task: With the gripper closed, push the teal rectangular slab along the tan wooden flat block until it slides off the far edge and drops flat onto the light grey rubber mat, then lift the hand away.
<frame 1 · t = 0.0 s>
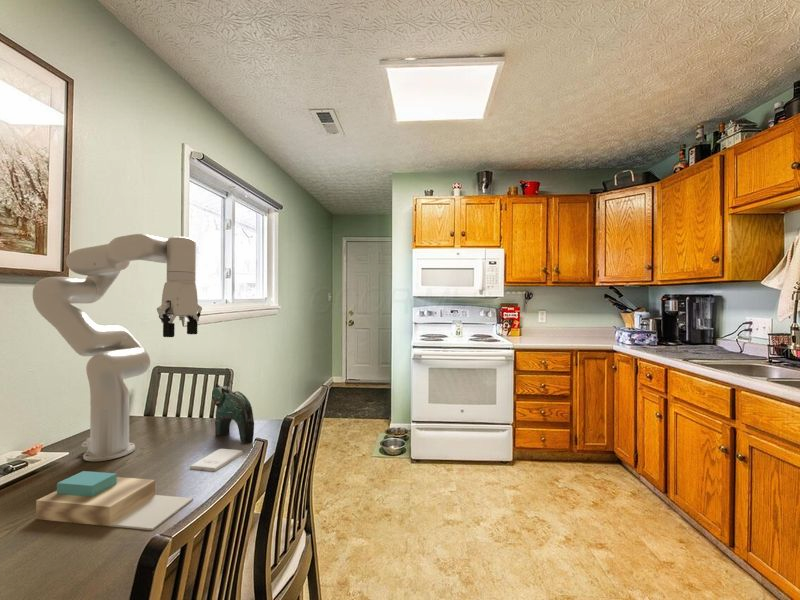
hand: (180, 335, 112), 37 cm above the table, tool pointing down, fingers open, 9 cm apart
mat: (154, 512, 83), on the table
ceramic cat: (234, 438, 129), on the table
tan wooden flat block: (98, 507, 85), on the table
external hard drive: (217, 463, 110), on the table
teal rectangular slab: (87, 488, 86), point 4 cm above the table, touching tan wooden flat block
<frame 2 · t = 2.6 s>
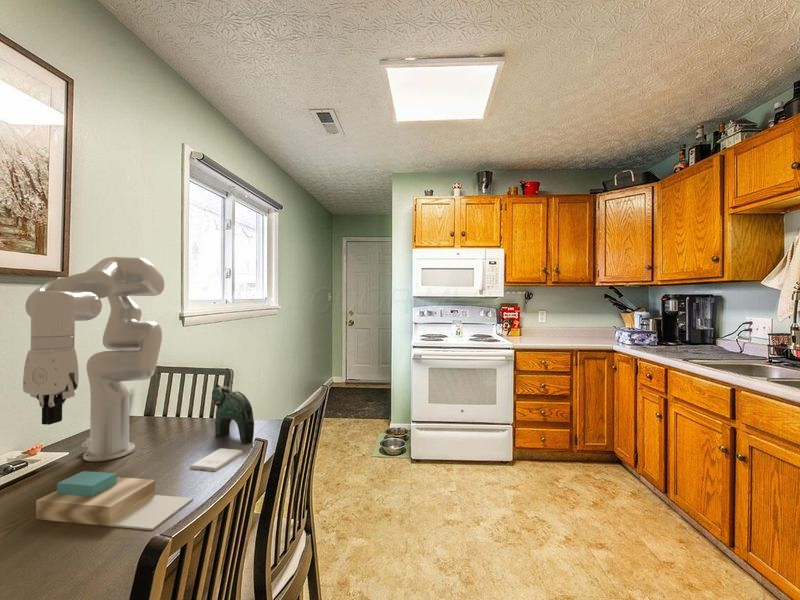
hand: (52, 422, 87), 19 cm above the table, tool pointing down, fingers closed
nothing on the table moved.
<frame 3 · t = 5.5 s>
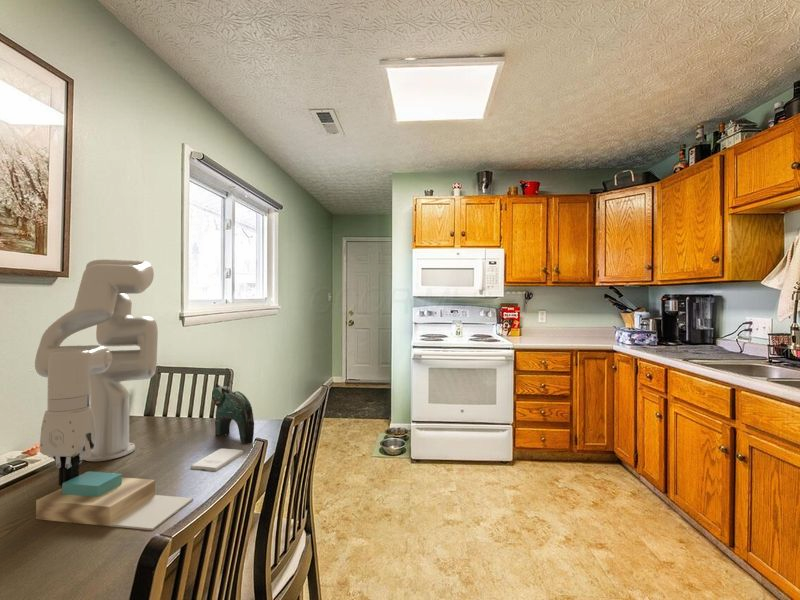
hand: (68, 483, 86), 5 cm above the table, tool pointing down, fingers closed
teal rectangular slab: (92, 488, 85), point 4 cm above the table, touching tan wooden flat block, gripper
everything else where it was.
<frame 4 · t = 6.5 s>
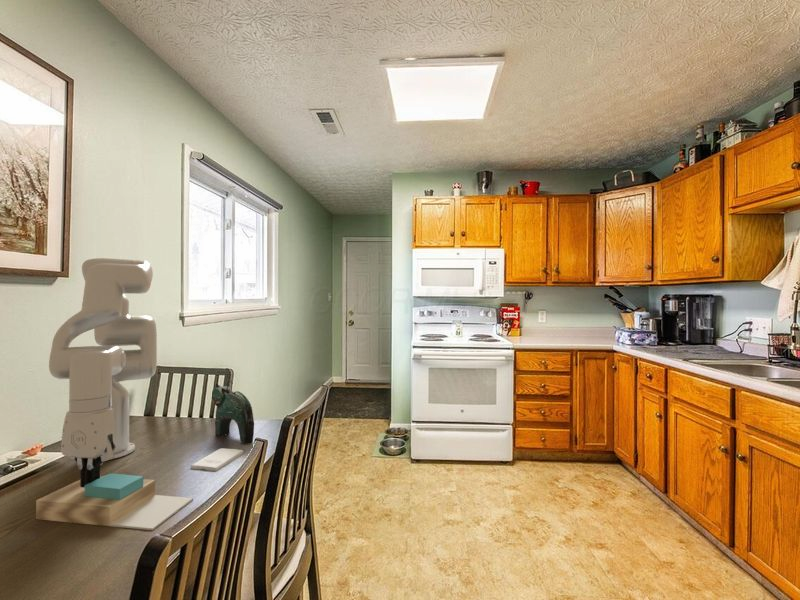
hand: (90, 484, 85), 5 cm above the table, tool pointing down, fingers closed
teal rectangular slab: (114, 491, 84), point 4 cm above the table, touching tan wooden flat block
everything else where it was.
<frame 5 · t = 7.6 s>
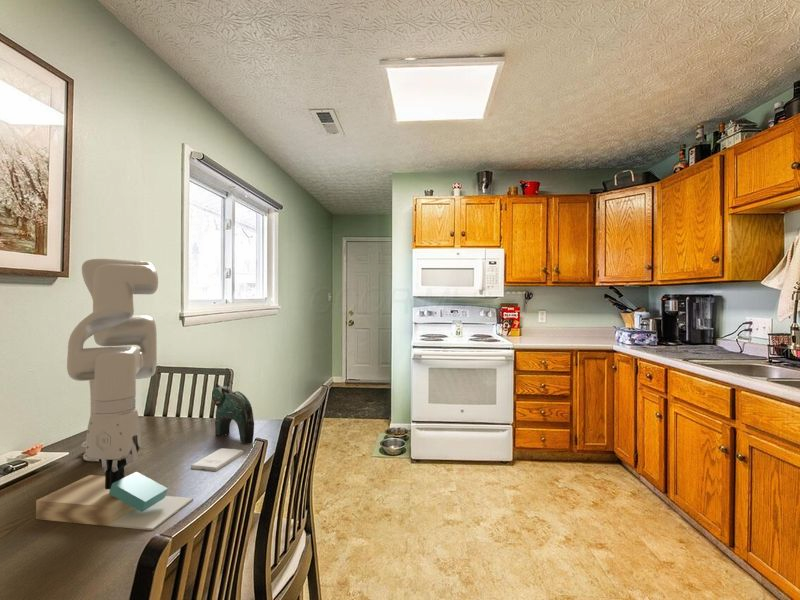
hand: (114, 486, 84), 5 cm above the table, tool pointing down, fingers closed
teal rectangular slab: (137, 495, 83), point 4 cm above the table, tilted 20°, touching tan wooden flat block
everything else where it was.
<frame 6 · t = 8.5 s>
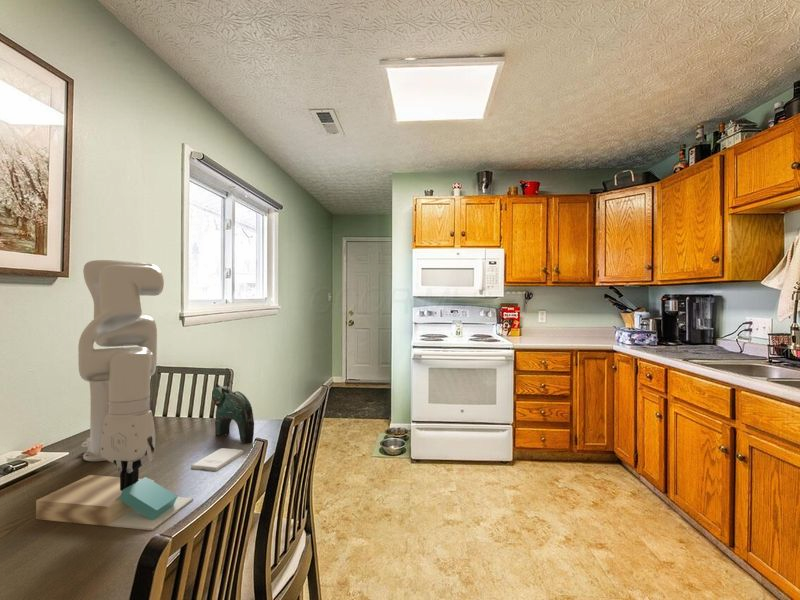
hand: (129, 487, 84), 5 cm above the table, tool pointing down, fingers closed
teal rectangular slab: (147, 502, 83), point 2 cm above the table, tilted 25°, touching mat
everything else where it was.
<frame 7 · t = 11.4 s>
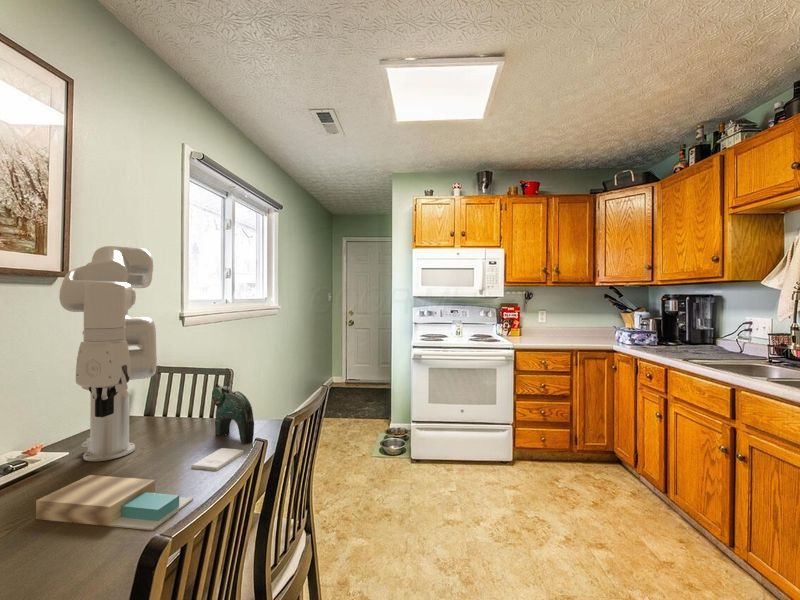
hand: (104, 415, 86), 21 cm above the table, tool pointing down, fingers closed
teal rectangular slab: (151, 511, 83), resting on mat
everything else where it was.
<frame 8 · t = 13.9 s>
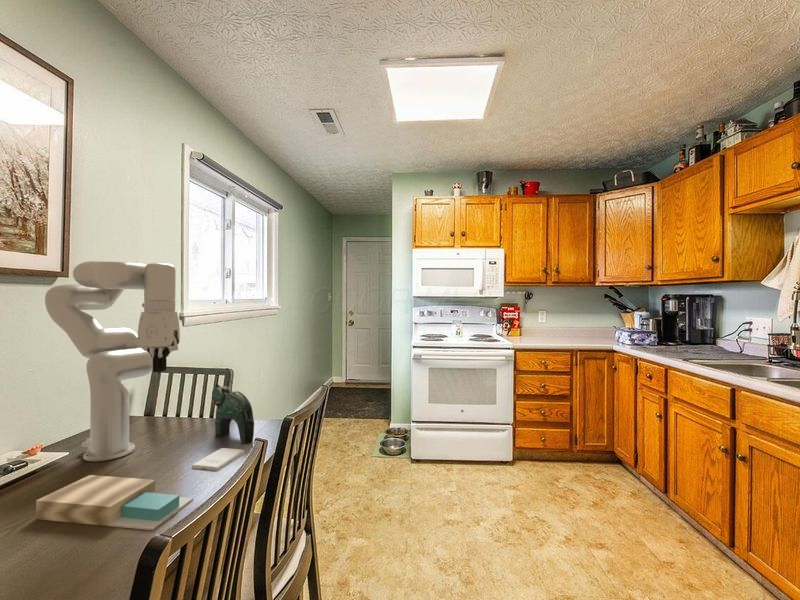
hand: (159, 371, 107), 27 cm above the table, tool pointing down, fingers closed
nothing on the table moved.
at the end: teal rectangular slab inside the target area on the mat (0.7 cm from its centre), point 0.4 cm above the mat's base; teal rectangular slab touching mat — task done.
